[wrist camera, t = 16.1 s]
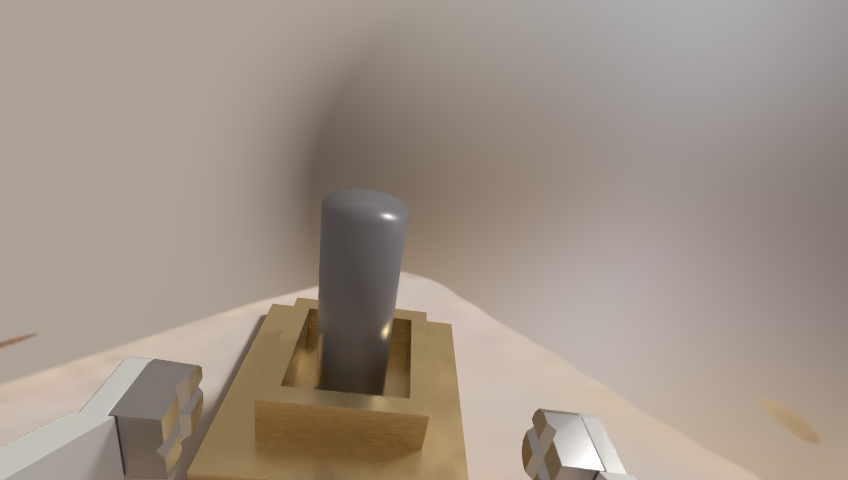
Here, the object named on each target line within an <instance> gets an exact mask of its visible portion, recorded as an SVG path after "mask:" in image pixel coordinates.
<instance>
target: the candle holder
mask: <svg viewBox="0 0 848 480" xmlns="http://www.w3.org/2000/svg"><path fill="white" fill-rule="evenodd" d="M317 322H318V300H313V299H304V298H297V300H296V303H295V305H294V306H287V305H278V304H272V306H271V308H270V310H269V312H268V314H267V316H266V318H265V320H264V322H263V324H262V326H261V328H260V330H259V332H258V334H257V336H256V337H255V339H254V341H253V343H252V345H251V347H250V349H249V351H248V353H247V355H246V357H245V359H244V361H243V363H242V365H241V367H240V369H239V371H238V373H237V375H236V377H235V379H234V381H233V383H232V385H231V387H230V388H229V390H228V392H227V394H226V396H225V398H224V400H223V402H222V404H221V406H220V408H219V410H218V412H217V414H216V416H215V418H214V420H213V422H212V424H211V426H210V428H209V430H208V432H207V434H206V436H205V438H204V440H203V441H202V443H201V445H200V447H199V449H198V451H197V453H196V455H195V457H194V459H193V461H192V463H191V465H190V467H189V469H188V471H187V479H188V480H468V472H467V463H466V454H465V445H464V436H463V427H462V418H461V409H460V400H459V391H458V382H457V373H456V364H455V355H454V346H453V337H452V328H451V324H445V323H436V322H428V321H427V319H426V312H417V311H409V310H400V309H395V312H394V320H393V327H392V334H391V342H390V349H389V356H388V364H387V371H386V378H385V385H384V389H383V391H382V393H381V395H380V396H378V395H368V394H358V393H348V392H337V391H327V390H317V389H316V385H315V378H316V350H317Z"/></svg>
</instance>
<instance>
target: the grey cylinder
mask: <svg viewBox="0 0 848 480" xmlns="http://www.w3.org/2000/svg"><path fill="white" fill-rule="evenodd" d="M407 217H408V207H407V205H406V204H405V203H404V202H403V201H402V200H400V199H399V198H397V197H395V196H393V195H390V194H387V193H384V192H380V191H374V190H367V189H346V190H340V191H336V192H333V193H330V194H328V195H327V196H325V198H324V199H323V200H322V210H321V237H320V238H321V239H320V240H321V241H320V266H319V294H318V322H317V350H316V378H315V385H316V389H317V390H327V391H337V392H348V393H358V394H368V395H378V396H380V395H381V393H382V391H383V389H384V385H385V378H386V371H387V364H388V356H389V349H390V342H391V334H392V327H393V320H394V312H395V305H396V298H397V290H398V283H399V276H400V268H401V261H402V254H403V246H404V239H405V232H406V224H407Z"/></svg>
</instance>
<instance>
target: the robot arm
mask: <svg viewBox="0 0 848 480" xmlns="http://www.w3.org/2000/svg"><path fill="white" fill-rule="evenodd" d="M201 380H202V367H200V366H198V365H192V364H185V363H179V362H172V361H165V360H159V359H150V358H143V357H137V356H130V357H128V358H127V359H125V360H124V361H123V362H122V363H121V364H120V365H119V366H118V367H117V369H116V370H115V371H114V372H113V373H112V374H111V376H110V377H109V378H108V379H107V380H106V381H105V383H104V384H103V385H102V386H101V387H100V388H99V390H98V391H97V392H96V393H95V394H94V395H93V396H92V398H91V399H90V400H89V401H88V402H87V403H86V405H85V406H84V407H83V408H82V409H81V410H80V412H70V413H68V414H66V415H64V416H62V417H60V418H58V419H56V420H54V421H52V422H50V423H48V424H46V425H44V426H42V427H40V428H38V429H36V430H34V431H32V432H30V433H28V434H26V435H24V436H22V437H20V438H18V439H16V440H14V441H12V442H10V443H8V444H6V445H4V446H2V447H0V480H124V476H125V477H139V478H153V479H168V477H169V475H170V473H171V471H172V470H173V468H174V466H175V464H176V462H177V460H178V459H179V457H180V455H181V453H182V440H184V439H185V438H187V437H188V436H190V435H191V434H192V432H193V431H194V429H195V427H196V425H197V423H198V420H199V417H200V414H201V411H202V405H203V392H202V390H201V389H200V388H199V387H198V385H199V383H200V381H201ZM532 421H533V424H534V427H533V428H531V429H530V430H528V431H527V432H526V434H525V437H524V440H523V446H522V460H523V465H524V469H525V472H526V473H527V474H528V475H529V476H530V478H531V479H532V480H637V479H636V478H635V477H634V476H633V475H628V474H626V471H625V469H624V467H623V465H622V463H621V461H620V459H619V457H618V455H617V453H616V451H615V449H614V447H613V444H612V442H611V440H610V438H609V436H608V434H607V432H606V430H605V428H604V426H603V424H602V422H601V420H600V418H599V417H597V416H596V415H589V414H580V413H572V412H564V411H555V410H546V409H538V410H537V411H536V412H535V414H534V416H533V418H532Z"/></svg>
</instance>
